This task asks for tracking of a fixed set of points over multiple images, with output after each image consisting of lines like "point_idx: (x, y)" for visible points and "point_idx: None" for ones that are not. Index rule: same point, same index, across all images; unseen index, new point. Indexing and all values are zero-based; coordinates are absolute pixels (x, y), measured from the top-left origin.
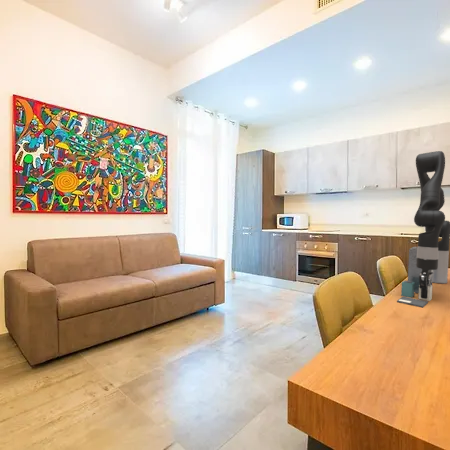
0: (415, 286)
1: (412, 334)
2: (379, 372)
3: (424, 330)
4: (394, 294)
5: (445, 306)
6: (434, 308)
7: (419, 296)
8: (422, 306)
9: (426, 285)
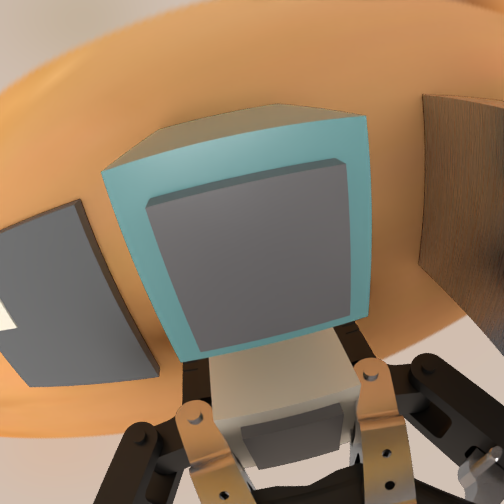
0: (472, 192)
1: None
2: None
3: None
4: (130, 62)
5: None
6: (87, 409)
7: None
8: (29, 382)
9: (147, 492)
